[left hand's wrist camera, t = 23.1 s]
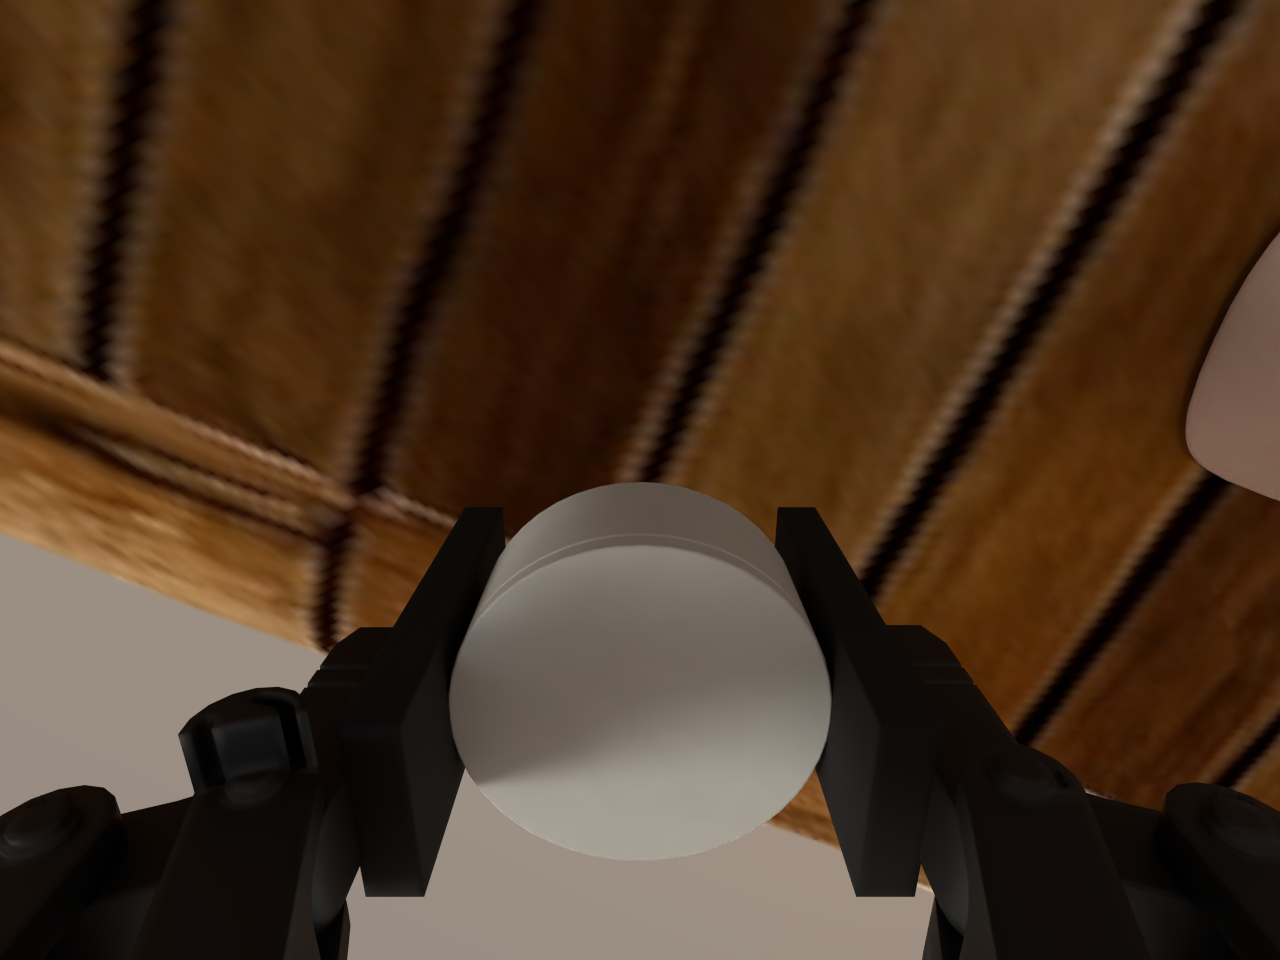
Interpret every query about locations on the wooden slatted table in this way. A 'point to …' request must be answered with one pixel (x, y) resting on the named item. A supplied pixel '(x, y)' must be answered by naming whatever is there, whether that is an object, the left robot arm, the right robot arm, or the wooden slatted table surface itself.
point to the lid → (640, 676)
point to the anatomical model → (1243, 387)
